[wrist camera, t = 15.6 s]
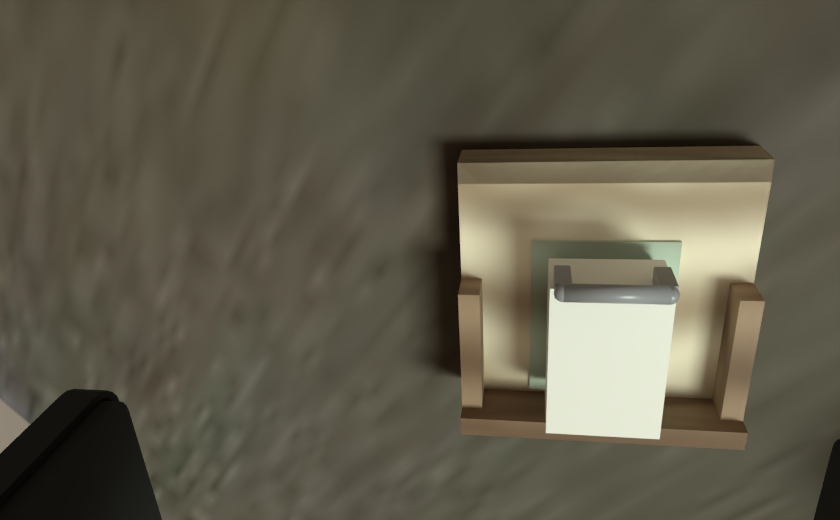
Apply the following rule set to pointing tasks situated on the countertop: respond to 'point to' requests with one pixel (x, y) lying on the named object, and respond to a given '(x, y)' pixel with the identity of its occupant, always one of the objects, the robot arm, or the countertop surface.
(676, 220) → the dock
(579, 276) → the cream rod-topped slab
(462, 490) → the countertop surface
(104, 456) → the robot arm
